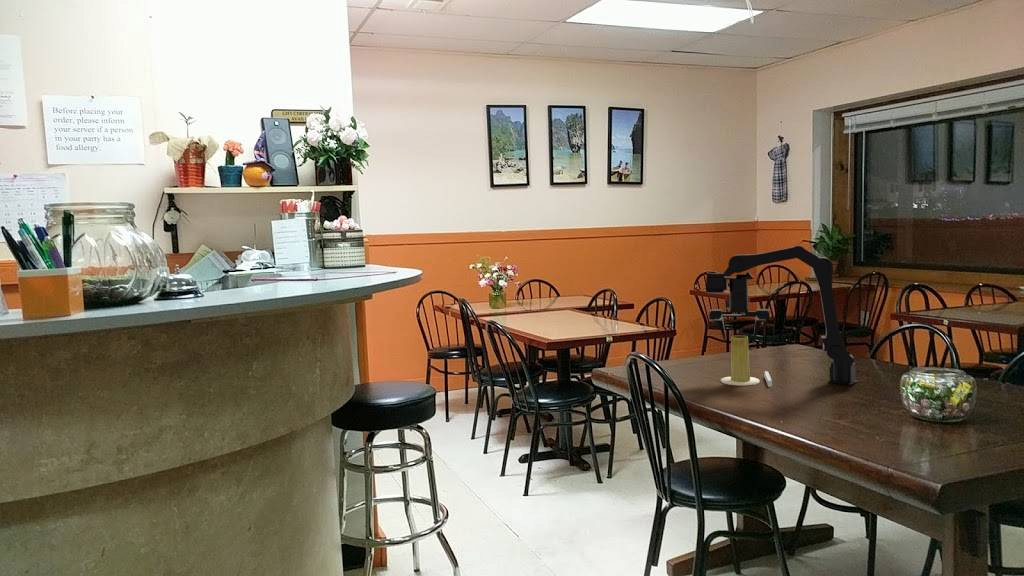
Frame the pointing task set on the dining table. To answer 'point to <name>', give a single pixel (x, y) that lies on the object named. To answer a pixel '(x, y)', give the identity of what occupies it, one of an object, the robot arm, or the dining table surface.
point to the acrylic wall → (768, 379)
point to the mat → (752, 382)
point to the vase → (740, 359)
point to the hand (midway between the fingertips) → (739, 340)
